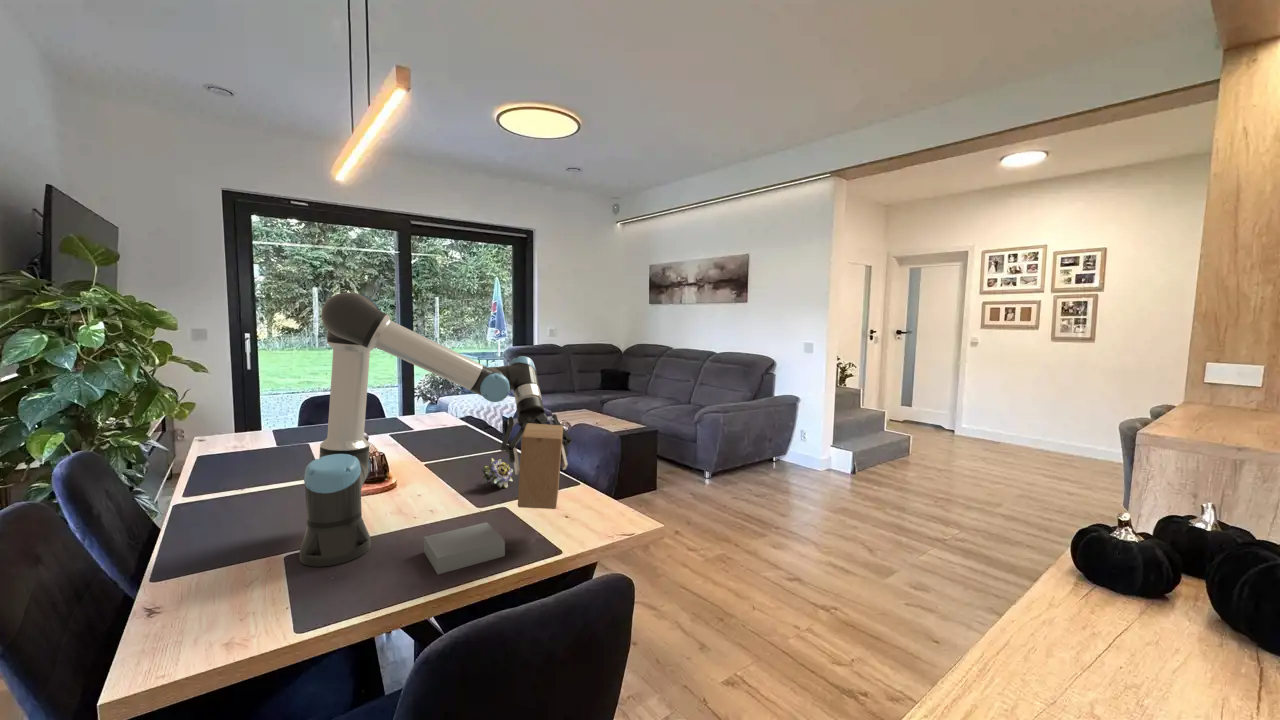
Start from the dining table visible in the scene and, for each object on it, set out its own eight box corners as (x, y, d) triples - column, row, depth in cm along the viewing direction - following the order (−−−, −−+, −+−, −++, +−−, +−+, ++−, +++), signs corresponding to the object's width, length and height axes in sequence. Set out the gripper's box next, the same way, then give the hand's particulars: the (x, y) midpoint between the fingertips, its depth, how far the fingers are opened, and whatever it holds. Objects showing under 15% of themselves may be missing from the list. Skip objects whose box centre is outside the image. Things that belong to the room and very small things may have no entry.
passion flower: (505, 503, 174) (499, 482, 166) (477, 494, 176) (470, 473, 168) (520, 477, 182) (516, 456, 174) (493, 468, 184) (488, 448, 176)
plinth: (437, 574, 116) (437, 558, 116) (424, 552, 127) (423, 536, 126) (504, 556, 126) (504, 540, 125) (487, 536, 136) (486, 522, 136)
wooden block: (555, 509, 133) (561, 438, 128) (517, 508, 131) (521, 436, 127) (558, 491, 142) (563, 424, 138) (522, 489, 141) (526, 422, 137)
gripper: (566, 408, 154) (581, 471, 142) (484, 412, 144) (493, 481, 132) (572, 394, 149) (588, 458, 137) (487, 397, 139) (497, 467, 126)
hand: (542, 469), depth 134 cm, fingers closed on wooden block, 12 cm apart
